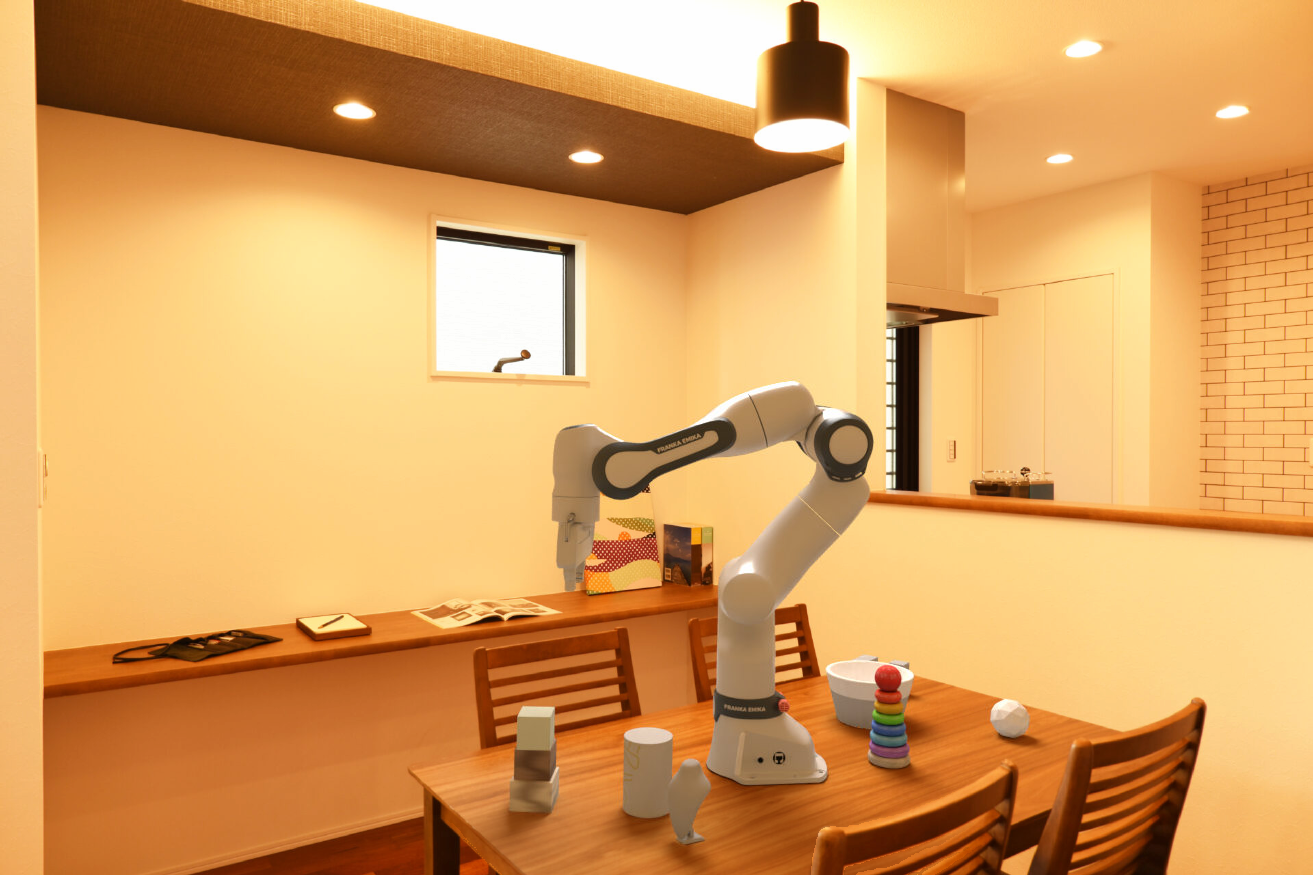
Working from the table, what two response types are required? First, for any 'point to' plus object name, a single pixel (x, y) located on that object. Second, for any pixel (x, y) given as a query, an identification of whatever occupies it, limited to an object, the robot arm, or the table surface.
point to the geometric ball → (1010, 718)
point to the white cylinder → (647, 772)
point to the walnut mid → (535, 764)
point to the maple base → (534, 794)
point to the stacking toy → (888, 722)
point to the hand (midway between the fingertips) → (574, 586)
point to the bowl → (860, 690)
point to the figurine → (687, 799)
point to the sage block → (535, 728)
